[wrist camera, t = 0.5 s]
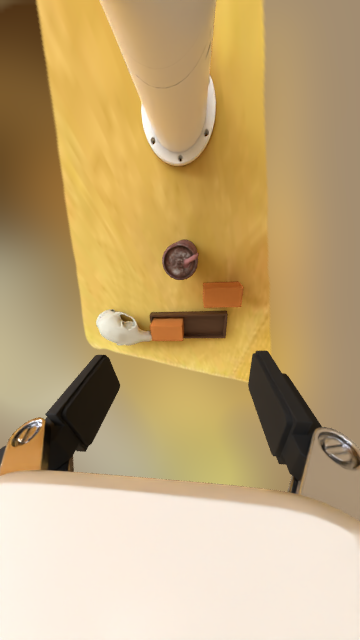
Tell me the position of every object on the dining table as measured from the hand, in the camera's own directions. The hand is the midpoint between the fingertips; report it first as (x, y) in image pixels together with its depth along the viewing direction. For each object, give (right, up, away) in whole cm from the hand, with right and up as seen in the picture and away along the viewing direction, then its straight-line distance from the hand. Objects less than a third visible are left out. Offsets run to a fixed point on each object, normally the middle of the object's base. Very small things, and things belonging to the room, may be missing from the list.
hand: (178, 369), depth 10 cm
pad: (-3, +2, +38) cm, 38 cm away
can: (+1, +20, +28) cm, 34 cm away
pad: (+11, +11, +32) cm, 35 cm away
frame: (+3, +2, +37) cm, 37 cm away
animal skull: (-16, +2, +40) cm, 43 cm away
